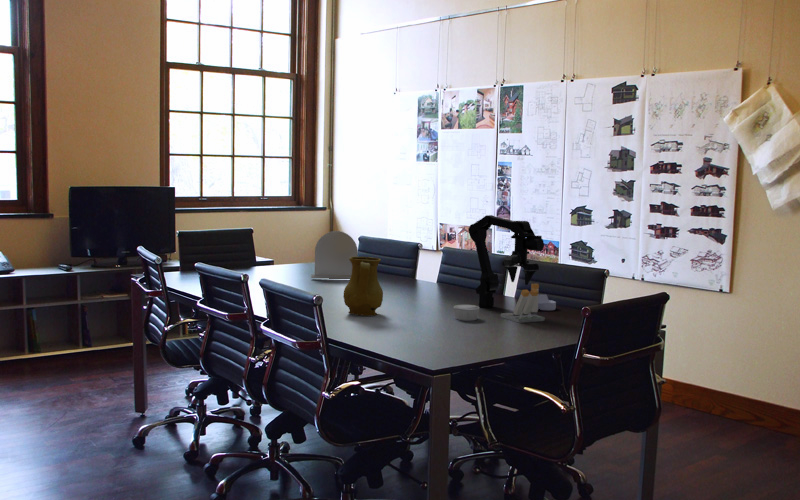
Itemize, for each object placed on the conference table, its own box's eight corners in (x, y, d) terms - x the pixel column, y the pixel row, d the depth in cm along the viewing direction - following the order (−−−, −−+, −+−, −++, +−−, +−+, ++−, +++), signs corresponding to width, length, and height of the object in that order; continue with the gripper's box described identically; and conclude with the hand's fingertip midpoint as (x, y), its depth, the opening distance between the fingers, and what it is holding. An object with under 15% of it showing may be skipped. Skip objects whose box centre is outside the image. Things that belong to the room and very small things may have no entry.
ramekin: (476, 322, 316) (476, 310, 315) (450, 320, 319) (450, 308, 318) (481, 317, 326) (482, 305, 326) (456, 315, 330) (456, 303, 329)
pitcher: (390, 313, 332) (391, 256, 329) (368, 320, 315) (369, 260, 313) (356, 309, 340) (357, 253, 337) (334, 315, 323) (334, 257, 321)
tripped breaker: (529, 314, 325) (531, 283, 324) (534, 314, 326) (536, 283, 325) (532, 315, 323) (534, 284, 322) (537, 314, 324) (539, 284, 323)
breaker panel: (500, 316, 328) (500, 312, 328) (525, 314, 334) (525, 311, 334) (518, 322, 316) (519, 318, 316) (544, 320, 321) (544, 316, 321)
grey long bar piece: (521, 313, 323) (531, 289, 316) (526, 313, 324) (536, 288, 317) (523, 316, 322) (533, 292, 314) (528, 316, 323) (538, 292, 316)
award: (359, 278, 436) (360, 230, 433) (361, 280, 427) (361, 232, 424) (311, 278, 433) (311, 230, 430) (311, 280, 424) (311, 231, 421)
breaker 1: (512, 314, 321) (522, 289, 314) (517, 313, 322) (527, 289, 315) (514, 317, 320) (524, 292, 312) (519, 317, 321) (529, 292, 314)
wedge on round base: (532, 310, 345) (558, 310, 348) (533, 296, 344) (559, 295, 347) (524, 307, 353) (550, 306, 356) (525, 293, 353) (551, 292, 356)
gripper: (493, 247, 340) (492, 281, 342) (521, 252, 324) (519, 287, 326) (512, 246, 346) (511, 280, 348) (540, 251, 330) (538, 286, 332)
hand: (519, 283), depth 338 cm, fingers open, 9 cm apart
